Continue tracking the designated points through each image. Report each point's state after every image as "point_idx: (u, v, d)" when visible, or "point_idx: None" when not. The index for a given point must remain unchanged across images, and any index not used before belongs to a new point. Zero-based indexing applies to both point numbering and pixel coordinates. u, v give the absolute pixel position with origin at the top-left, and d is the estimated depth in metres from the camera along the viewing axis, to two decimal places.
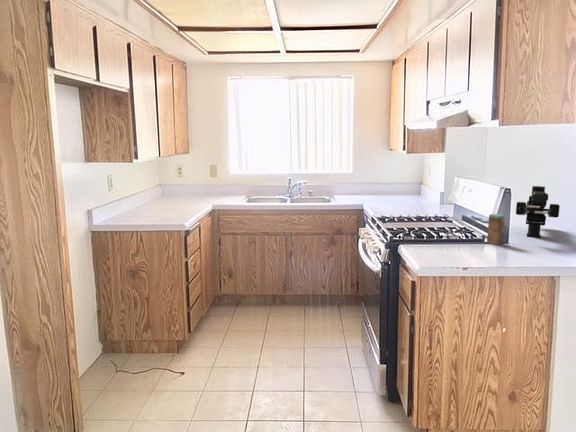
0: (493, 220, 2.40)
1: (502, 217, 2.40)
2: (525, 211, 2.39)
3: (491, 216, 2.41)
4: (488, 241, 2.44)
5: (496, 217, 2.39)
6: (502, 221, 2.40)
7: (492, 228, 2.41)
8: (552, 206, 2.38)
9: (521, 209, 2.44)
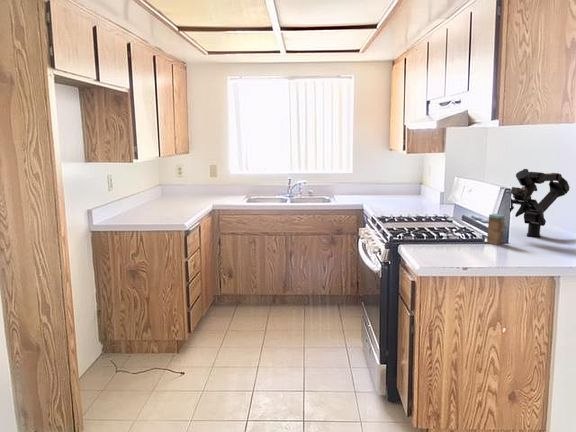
0: (493, 220, 2.40)
1: (502, 217, 2.40)
2: None
3: (491, 216, 2.41)
4: (488, 241, 2.44)
5: (496, 217, 2.39)
6: (502, 221, 2.40)
7: (492, 228, 2.41)
8: (523, 204, 2.44)
9: None
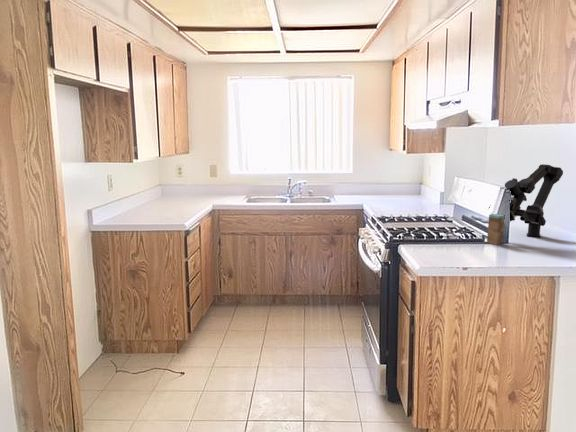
0: (493, 220, 2.40)
1: (502, 217, 2.40)
2: None
3: (491, 216, 2.41)
4: (488, 241, 2.44)
5: (496, 217, 2.39)
6: (502, 221, 2.40)
7: (492, 228, 2.41)
8: None
9: None
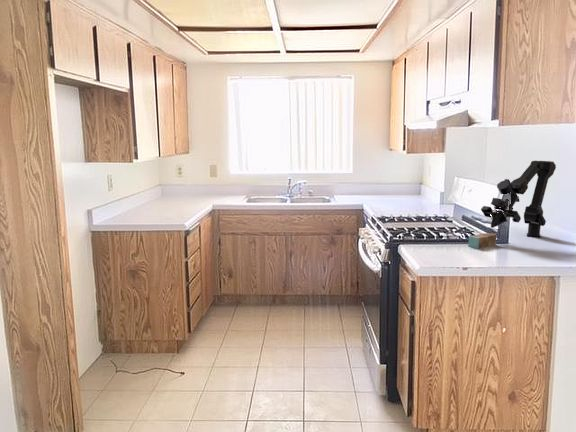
0: None
1: (479, 241, 2.33)
2: None
3: None
4: None
5: None
6: (481, 240, 2.34)
7: None
8: (499, 215, 2.39)
9: None
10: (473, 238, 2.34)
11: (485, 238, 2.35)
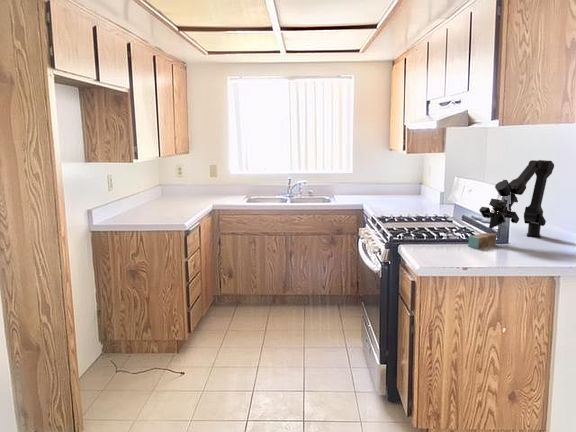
0: None
1: (478, 241, 2.33)
2: None
3: None
4: None
5: None
6: (481, 240, 2.34)
7: None
8: (498, 215, 2.39)
9: None
10: (473, 238, 2.34)
11: (485, 238, 2.35)
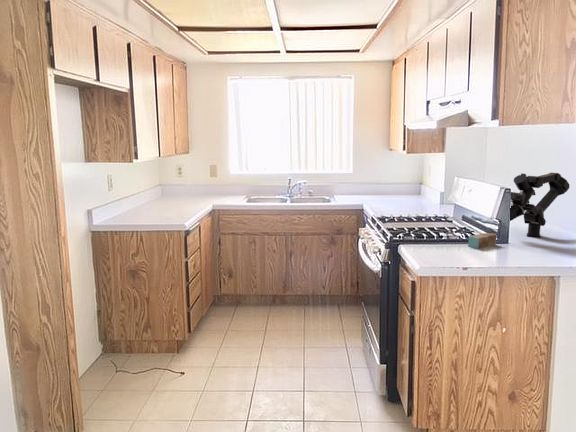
0: None
1: (478, 241, 2.33)
2: None
3: None
4: None
5: None
6: (481, 240, 2.34)
7: None
8: (516, 208, 2.46)
9: None
10: (473, 238, 2.34)
11: (485, 238, 2.35)
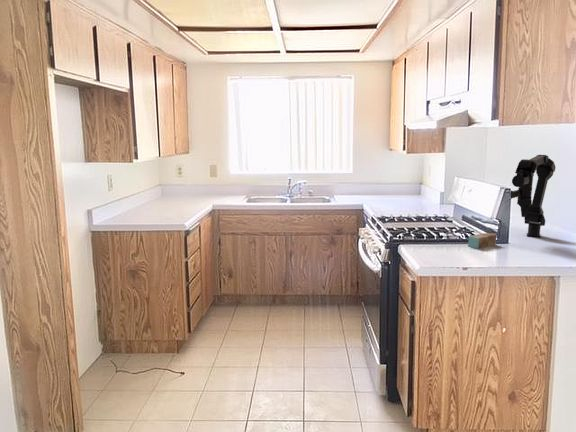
0: None
1: (478, 241, 2.33)
2: None
3: None
4: None
5: None
6: (481, 240, 2.34)
7: None
8: (518, 204, 2.45)
9: None
10: (473, 238, 2.34)
11: (485, 238, 2.35)
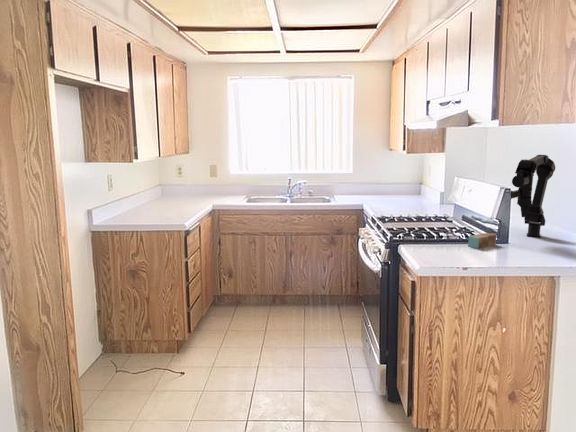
0: None
1: (478, 241, 2.33)
2: None
3: None
4: None
5: None
6: (481, 240, 2.34)
7: None
8: None
9: None
10: (473, 238, 2.34)
11: (485, 238, 2.35)
